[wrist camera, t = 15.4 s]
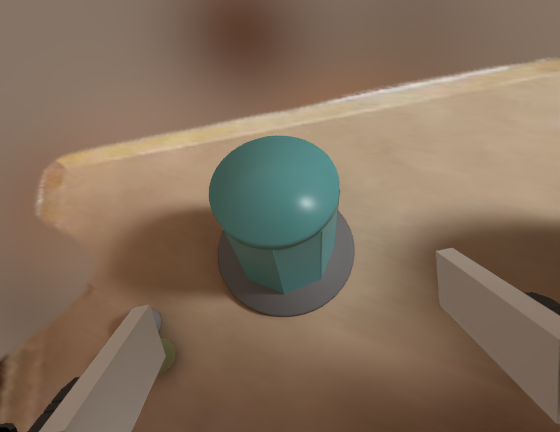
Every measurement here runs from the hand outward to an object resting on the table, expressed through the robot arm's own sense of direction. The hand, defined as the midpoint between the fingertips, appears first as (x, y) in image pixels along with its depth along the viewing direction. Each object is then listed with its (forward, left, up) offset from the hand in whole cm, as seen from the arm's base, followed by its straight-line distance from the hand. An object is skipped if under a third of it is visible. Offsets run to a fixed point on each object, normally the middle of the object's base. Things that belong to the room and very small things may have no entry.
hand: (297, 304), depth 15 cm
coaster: (-6, -9, -17) cm, 20 cm away
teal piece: (-6, -9, -16) cm, 19 cm away
